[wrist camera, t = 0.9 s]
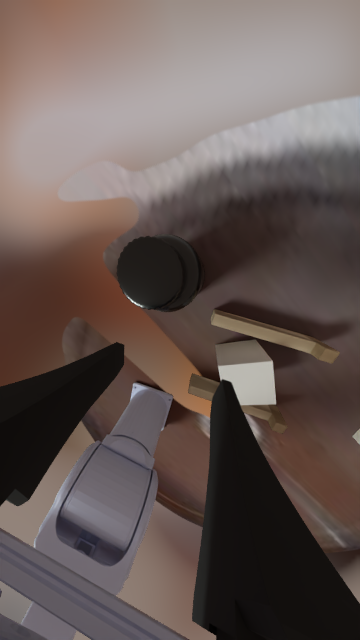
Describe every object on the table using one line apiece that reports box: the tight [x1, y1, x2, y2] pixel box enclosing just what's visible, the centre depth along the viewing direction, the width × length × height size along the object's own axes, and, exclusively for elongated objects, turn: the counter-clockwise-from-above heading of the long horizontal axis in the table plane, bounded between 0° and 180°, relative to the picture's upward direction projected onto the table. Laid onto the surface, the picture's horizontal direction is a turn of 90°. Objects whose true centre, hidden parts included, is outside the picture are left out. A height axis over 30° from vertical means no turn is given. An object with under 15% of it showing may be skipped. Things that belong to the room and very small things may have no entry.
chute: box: [188, 309, 340, 434], centre depth 21 cm, size 14×14×4 cm
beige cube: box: [215, 339, 276, 405], centre depth 20 cm, size 6×6×6 cm
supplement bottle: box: [117, 234, 205, 312], centre depth 15 cm, size 7×7×12 cm
